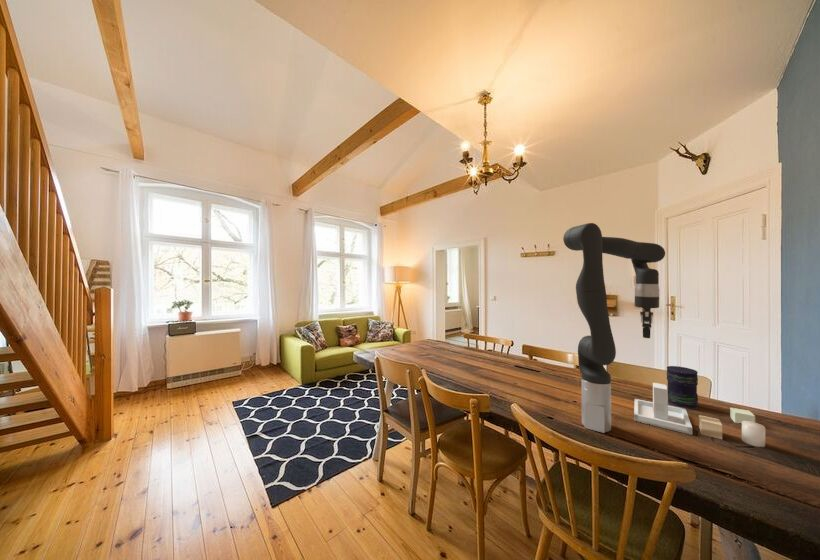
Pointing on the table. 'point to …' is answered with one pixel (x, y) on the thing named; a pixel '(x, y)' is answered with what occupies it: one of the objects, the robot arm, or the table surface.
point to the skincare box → (660, 401)
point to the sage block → (741, 415)
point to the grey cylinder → (753, 433)
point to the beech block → (710, 427)
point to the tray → (675, 421)
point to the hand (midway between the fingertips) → (646, 336)
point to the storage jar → (682, 387)
